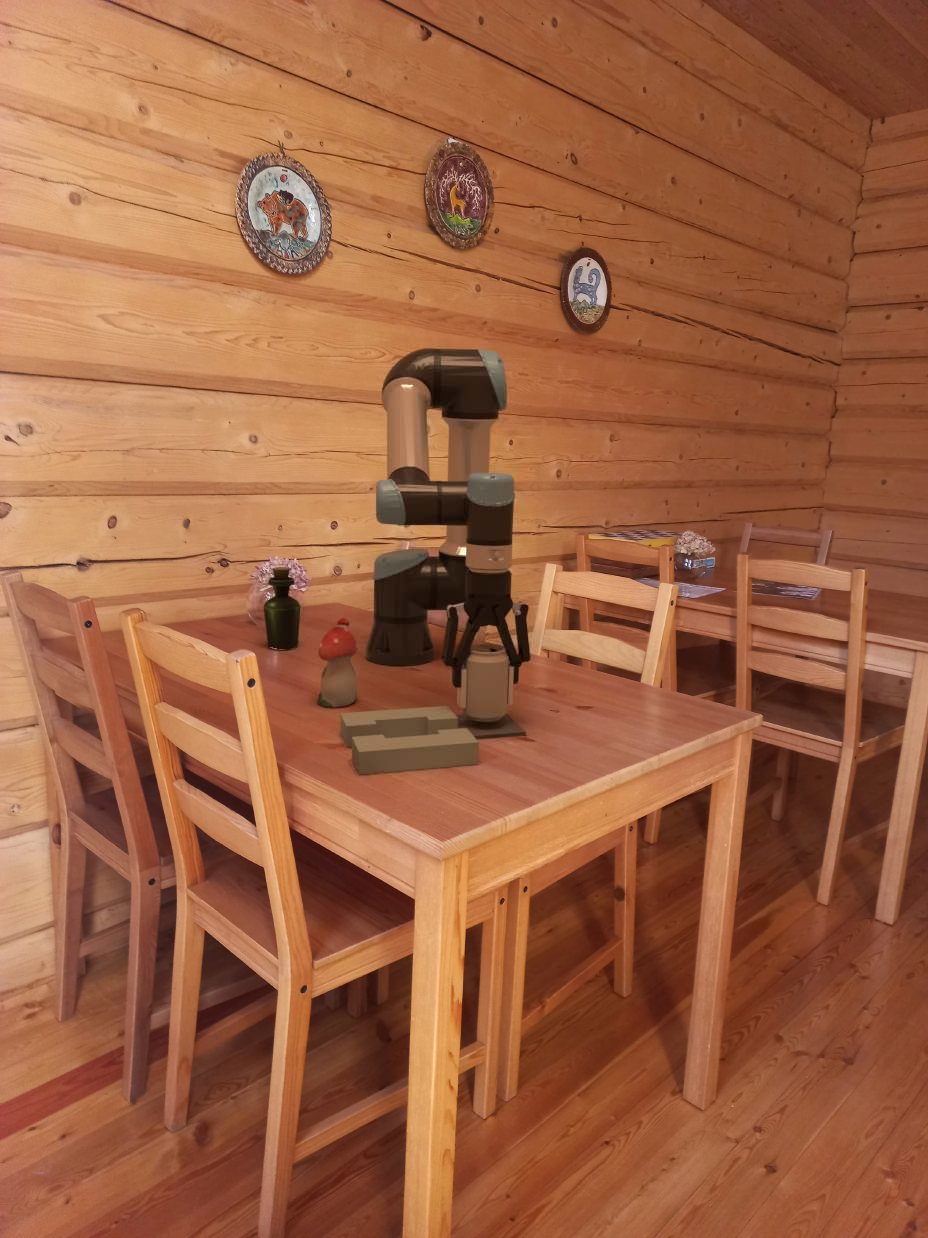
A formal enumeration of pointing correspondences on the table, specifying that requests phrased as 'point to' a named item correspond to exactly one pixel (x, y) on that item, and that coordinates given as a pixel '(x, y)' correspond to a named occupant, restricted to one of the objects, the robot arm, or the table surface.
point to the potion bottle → (282, 612)
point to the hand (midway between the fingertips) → (484, 703)
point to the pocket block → (407, 740)
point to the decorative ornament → (338, 667)
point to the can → (486, 682)
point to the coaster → (491, 727)
